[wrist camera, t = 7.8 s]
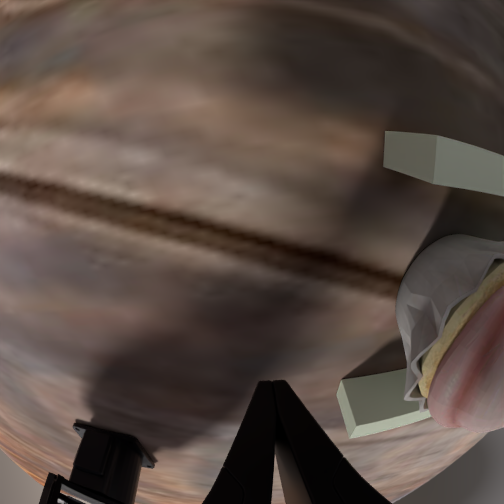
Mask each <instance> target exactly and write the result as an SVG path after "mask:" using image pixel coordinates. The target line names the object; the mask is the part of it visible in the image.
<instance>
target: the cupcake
mask: <svg viewBox="0 0 504 504" xmlns="http://www.w3.org/2000/svg"><path fill="white" fill-rule="evenodd" d="M395 311H396V319H397V323H398V326H399V330H400V333H401V336H402V340H403V345H404V350H405V355H406V360H407V371H406V382H405V392H404V400H406V401H419V411H420V413H421V412H425V411H427V410H429V412H430V415H431V416H432V417H433V418H434V419H435V421H436V422H437V423H438V424H440V425H441V426H445V427H449V428H458V427H463V428H465V429H467V430H469V431H472V432H476V433H480V432H488V431H493V430H497V429H500V428H503V427H504V241H500V242H498V241H492V240H487V239H482V238H478V237H474V236H470V235H465V234H455V235H449V236H445V237H443V238H441V239H439V240H437V241H435V242H434V243H432V244H431V245H429V246H428V247H427V248H426V249H424V250H423V251H422V252H421V253H420V254H419V256H418V257H417V258H416V259H415V261H414V262H413V263H412V264H411V266H410V268H409V269H408V271H407V272H406V274H405V276H404V277H403V280H402V282H401V285H400V288H399V291H398V295H397V300H396V310H395Z"/></svg>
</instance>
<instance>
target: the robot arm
mask: <svg viewBox="0 0 504 504" xmlns="http://www.w3.org/2000/svg"><path fill="white" fill-rule="evenodd" d="M73 428H74V430H75V431H76V432H77V433H78V434H79V436H80V437H81V438H82V440H81V443H80V445H79V448H78V451H77V454H76V457H75V460H74V463H73V469H72V472H71V475H70V478H69V480H67V479H65V478H64V477H63V476H61V475H59V474H58V475H55V474H53V473H50V472H49V474H48V477H47V480H46V483H45V486H44V489H43V492H42V495H41V499H40V502H39V504H85V503H83V502H81V501H79V500H76V499H74V498H72V497H70V496H66V495H64V494H62V493H60V490H61V489H62V490H64V491H66V492H68V493H70V494H72V495H74V496H76V497H78V498H80V499H82V500H84V501H87V502H89V503H91V504H134V502H135V497H136V492H137V487H138V481H139V477H140V472H141V467H146V468H154V466H155V464H154V463H153V461H152V460H151V459H150V457H149V456H148V455H147V453H146V452H145V450H144V449H143V448H142V446H141V445H140V443H139V442H138V440H137V439H136V438H134V437H131V436H127V435H122V434H117V433H112V432H108V431H104V430H100V429H96V428H92V427H88V426H84V425H81V424H77V423H74V425H73ZM275 455H276V459H277V464H278V469H279V474H280V479H281V484H282V488H283V493H284V498H285V502H286V504H392V503H391V502H390V501H388V500H387V499H386V498H385V497H384V496H382V495H381V494H380V493H379V492H378V491H377V490H375V489H374V488H373V487H372V486H371V485H370V484H369V483H368V482H367V481H366V480H365V479H364V478H363V477H361V475H360V474H359V473H358V472H357V471H356V470H355V469H354V468H353V466H352V465H351V464H350V463H349V462H348V460H347V459H346V458H345V457H343V454H342V453H341V452H340V451H339V449H338V448H337V447H336V446H335V444H334V443H333V442H332V441H331V439H330V438H329V437H328V436H327V434H326V433H325V432H324V430H323V429H322V428H321V427H320V425H319V424H318V423H317V421H316V420H315V419H314V417H313V416H312V415H311V414H310V412H309V411H308V410H307V408H306V407H305V406H304V404H303V403H302V402H301V400H300V399H299V398H298V396H297V395H296V394H295V392H294V391H293V389H292V388H291V387H290V385H289V384H288V383H287V381H285V380H274V381H270V380H268V381H259V382H258V384H257V387H256V389H255V392H254V394H253V397H252V399H251V402H250V404H249V406H248V409H247V411H246V414H245V416H244V419H243V421H242V423H241V426H240V428H239V430H238V433H237V435H236V437H235V440H234V442H233V444H232V447H231V449H230V451H229V453H228V456H227V458H226V460H225V462H224V464H223V467H222V468H221V471H220V473H219V475H218V477H217V479H216V481H215V483H214V485H213V487H212V489H211V490H210V492H209V494H208V495H207V497H206V498H205V500H204V501H203V503H202V504H271V499H272V486H273V472H274V457H275ZM58 502H59V503H58Z"/></svg>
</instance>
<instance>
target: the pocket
mask: <svg viewBox="0 0 504 504" xmlns="http://www.w3.org/2000/svg"><path fill="white" fill-rule="evenodd" d="M383 167H385V168H388V169H391V170H394V171H397V172H400V173H403V174H406V175H409V176H412V177H415V178H418V179H420V180H423V181H426V182H429V183H431V184H435V185H442V186H449V187H455V188H462V189H468V190H473V191H479V192H484V193H489V194H494V195H499V196H504V156H502V155H500V154H497V153H494V152H491V151H489V150H486V149H483V148H480V147H477V146H474V145H470V144H467V143H464V142H460V141H457V140H453V139H450V138H446V137H442V136H438V135H431V134H422V133H410V132H396V131H385V143H384V160H383ZM406 371H407V368H405V369H401V370H396V371H391V372H386V373H380V374H375V375H369V376H363V377H356V378H350V379H342V380H341V382H340V385H339V388H338V391H337V394H336V395H337V398H338V401H339V405H340V408H341V411H342V415H343V418H344V422H345V425H346V429H347V432H348V436H349V439H351V438H356V437H361V436H366V435H370V434H374V433H378V432H382V431H386V430H390V429H394V428H397V427H401V426H404V425H407V424H411V423H414V422H417V421H420V420H423V419H426V418H429V417H432V416H431V415H430V412H429V410H427V411H425V412H421V413H420V411H419V401H406V400H404V392H405V382H406Z"/></svg>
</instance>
